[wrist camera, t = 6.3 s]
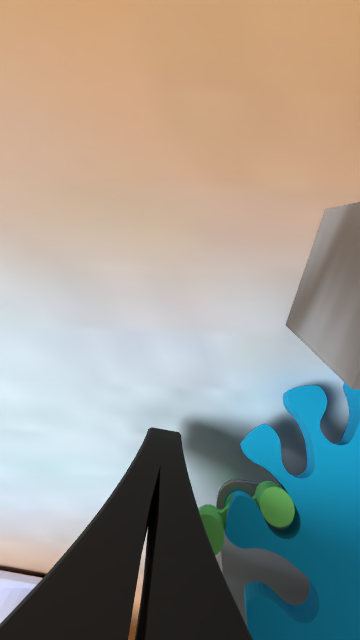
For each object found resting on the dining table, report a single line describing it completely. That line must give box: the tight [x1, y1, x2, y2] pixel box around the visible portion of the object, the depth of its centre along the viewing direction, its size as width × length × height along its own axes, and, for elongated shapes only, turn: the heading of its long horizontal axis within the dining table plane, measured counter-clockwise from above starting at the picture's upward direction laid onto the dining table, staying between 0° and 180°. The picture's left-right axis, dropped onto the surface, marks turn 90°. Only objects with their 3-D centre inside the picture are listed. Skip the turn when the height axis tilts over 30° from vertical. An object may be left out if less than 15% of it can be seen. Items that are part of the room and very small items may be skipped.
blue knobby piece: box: [199, 382, 360, 640], centre depth 9 cm, size 11×6×10 cm
